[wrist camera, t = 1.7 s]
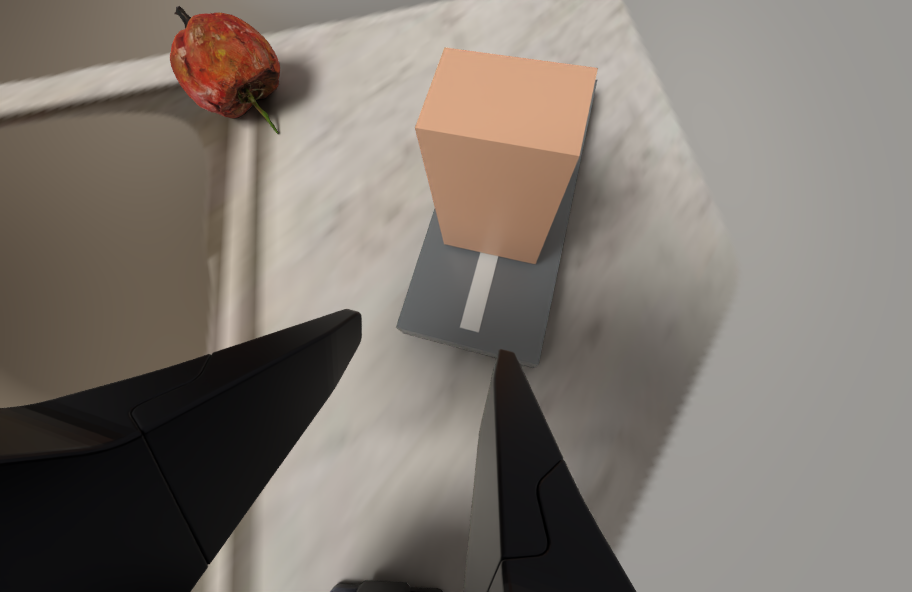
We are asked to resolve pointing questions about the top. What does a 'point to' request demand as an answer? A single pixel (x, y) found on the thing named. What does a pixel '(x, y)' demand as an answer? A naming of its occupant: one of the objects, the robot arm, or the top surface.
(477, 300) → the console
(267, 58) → the pomegranate
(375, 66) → the top surface
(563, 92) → the fader knob
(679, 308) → the top surface
